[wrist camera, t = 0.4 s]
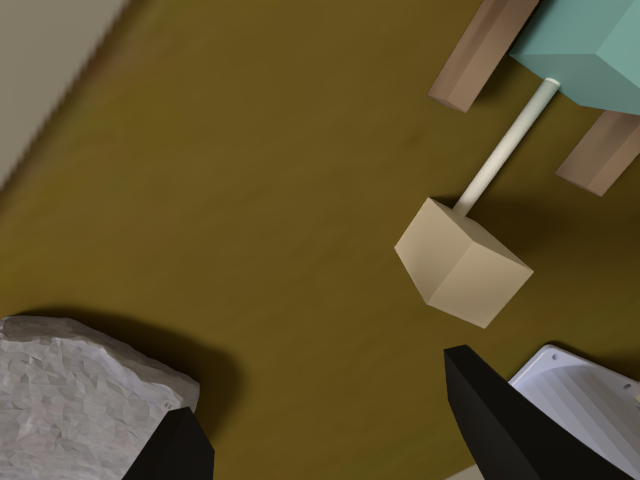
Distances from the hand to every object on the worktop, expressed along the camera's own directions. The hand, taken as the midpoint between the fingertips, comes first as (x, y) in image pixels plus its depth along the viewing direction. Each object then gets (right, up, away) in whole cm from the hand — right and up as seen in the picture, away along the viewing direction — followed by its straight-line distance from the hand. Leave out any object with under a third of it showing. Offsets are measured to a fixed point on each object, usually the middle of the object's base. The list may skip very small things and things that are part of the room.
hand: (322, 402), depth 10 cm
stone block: (-13, -4, +12) cm, 19 cm away
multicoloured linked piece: (+9, +10, +7) cm, 15 cm away
